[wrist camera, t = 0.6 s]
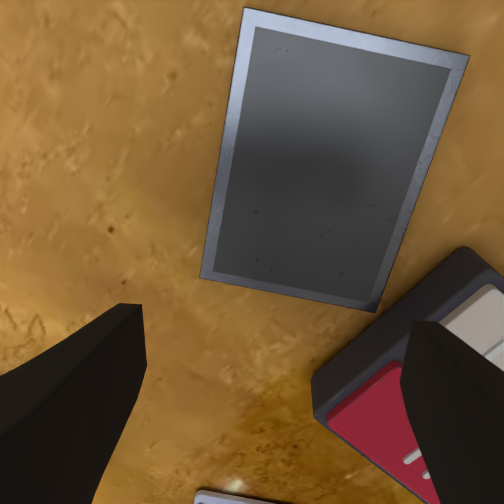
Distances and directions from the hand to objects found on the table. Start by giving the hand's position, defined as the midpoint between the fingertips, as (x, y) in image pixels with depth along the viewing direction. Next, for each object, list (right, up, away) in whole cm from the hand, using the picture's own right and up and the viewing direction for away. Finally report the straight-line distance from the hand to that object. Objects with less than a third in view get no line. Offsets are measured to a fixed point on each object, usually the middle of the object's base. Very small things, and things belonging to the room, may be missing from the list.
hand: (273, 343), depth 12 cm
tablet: (+2, +6, +8) cm, 10 cm away
